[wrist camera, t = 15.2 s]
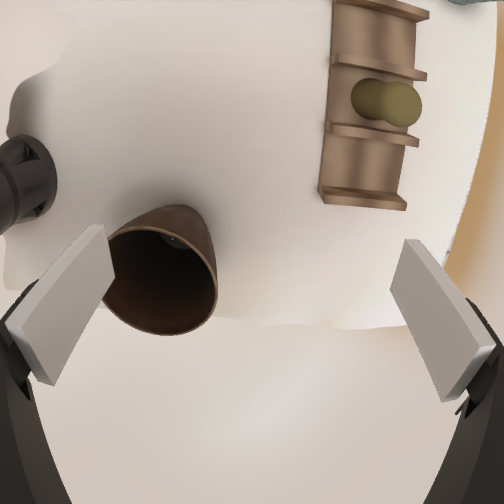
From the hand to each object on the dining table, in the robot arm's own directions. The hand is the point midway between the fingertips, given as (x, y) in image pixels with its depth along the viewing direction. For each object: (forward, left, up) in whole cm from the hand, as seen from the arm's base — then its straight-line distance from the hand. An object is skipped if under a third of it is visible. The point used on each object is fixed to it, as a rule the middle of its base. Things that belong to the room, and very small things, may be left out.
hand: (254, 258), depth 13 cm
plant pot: (-11, -14, -32) cm, 37 cm away
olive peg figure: (+15, +7, -31) cm, 35 cm away
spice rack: (+15, +7, -32) cm, 36 cm away
